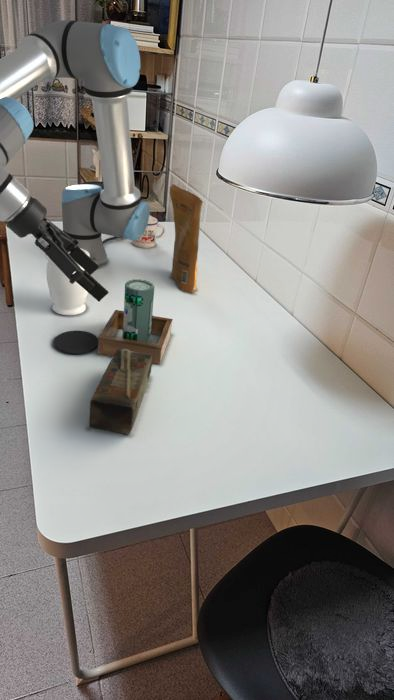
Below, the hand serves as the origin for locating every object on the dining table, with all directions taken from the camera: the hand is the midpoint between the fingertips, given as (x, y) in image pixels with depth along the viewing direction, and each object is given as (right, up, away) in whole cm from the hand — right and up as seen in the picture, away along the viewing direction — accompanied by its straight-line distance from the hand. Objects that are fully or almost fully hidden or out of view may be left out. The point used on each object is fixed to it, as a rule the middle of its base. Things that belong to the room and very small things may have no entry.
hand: (98, 282), depth 100 cm
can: (+6, -13, +11) cm, 18 cm away
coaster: (-7, -13, +8) cm, 16 cm away
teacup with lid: (+3, +24, +73) cm, 77 cm away
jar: (-12, -4, +22) cm, 26 cm away
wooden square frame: (+6, -13, +11) cm, 18 cm away
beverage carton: (+6, -24, -8) cm, 26 cm away
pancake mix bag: (+16, +6, +45) cm, 48 cm away
